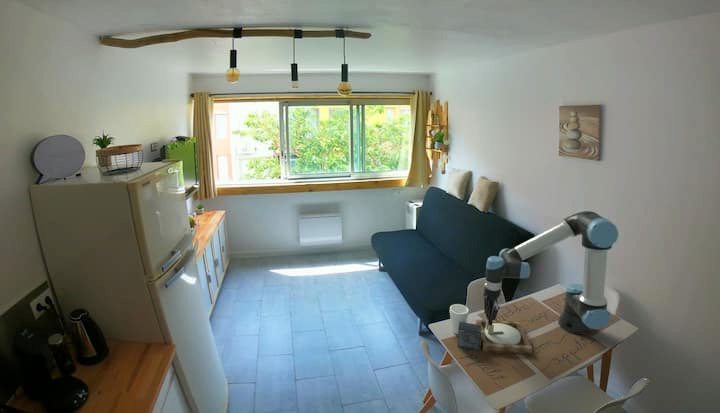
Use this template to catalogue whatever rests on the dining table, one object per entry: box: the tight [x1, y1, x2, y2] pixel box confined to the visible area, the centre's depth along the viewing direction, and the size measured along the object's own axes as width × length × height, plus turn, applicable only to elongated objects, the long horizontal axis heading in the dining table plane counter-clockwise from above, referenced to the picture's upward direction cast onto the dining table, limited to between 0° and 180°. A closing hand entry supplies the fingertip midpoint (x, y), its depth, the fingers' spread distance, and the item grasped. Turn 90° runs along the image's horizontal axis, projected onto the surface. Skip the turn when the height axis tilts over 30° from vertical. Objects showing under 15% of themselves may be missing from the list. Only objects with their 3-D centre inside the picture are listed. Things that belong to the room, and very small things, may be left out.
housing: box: [475, 319, 533, 356], centre depth 187 cm, size 22×22×4 cm
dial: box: [484, 323, 521, 345], centre depth 186 cm, size 17×17×6 cm
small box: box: [457, 322, 481, 351], centre depth 182 cm, size 11×6×10 cm, turn 71°
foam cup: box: [449, 303, 470, 335], centre depth 193 cm, size 10×9×13 cm
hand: (488, 328), depth 187 cm, fingers closed
